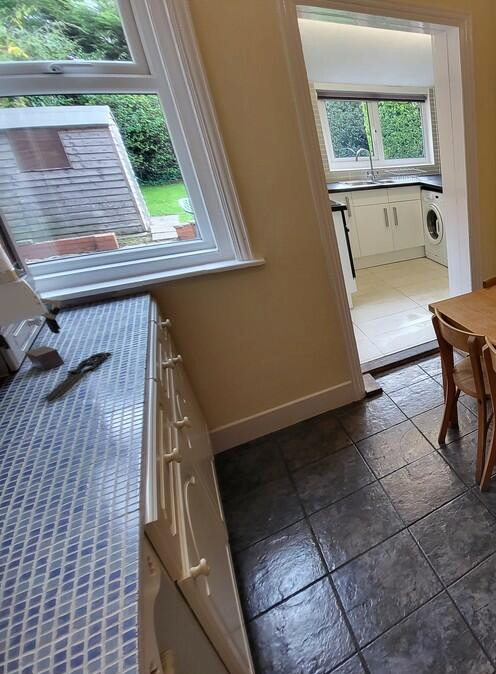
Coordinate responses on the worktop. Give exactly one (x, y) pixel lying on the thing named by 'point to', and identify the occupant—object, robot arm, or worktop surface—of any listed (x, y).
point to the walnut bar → (44, 357)
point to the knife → (74, 373)
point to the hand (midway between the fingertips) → (32, 340)
